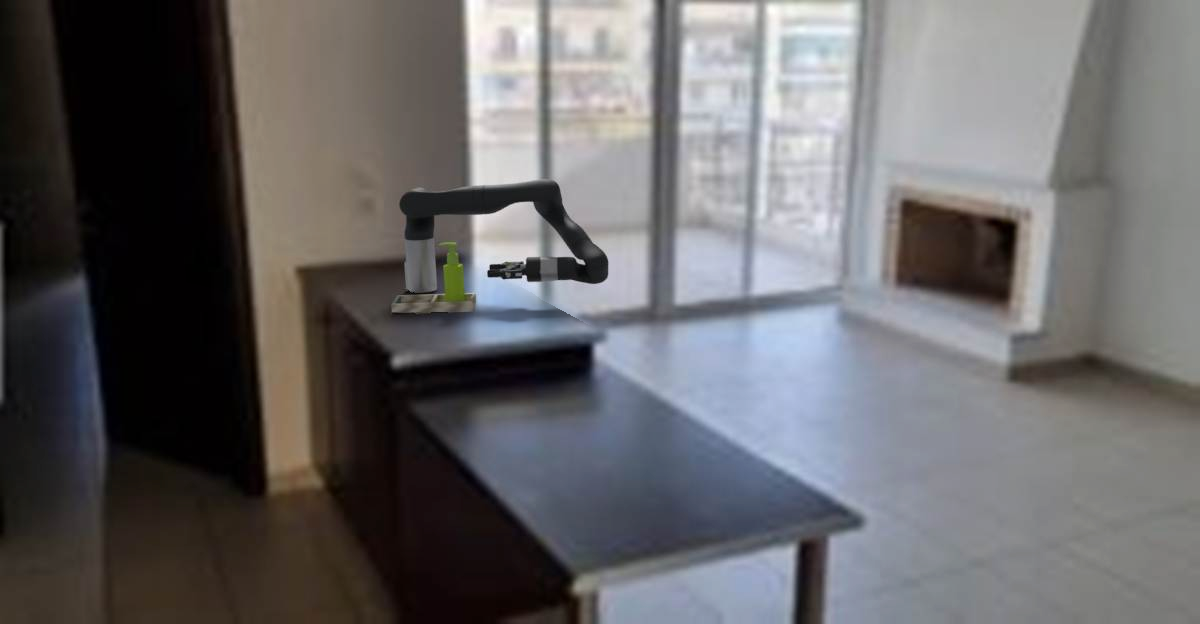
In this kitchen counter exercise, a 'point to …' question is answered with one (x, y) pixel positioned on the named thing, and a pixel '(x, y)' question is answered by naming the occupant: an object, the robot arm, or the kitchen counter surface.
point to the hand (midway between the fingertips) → (488, 270)
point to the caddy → (432, 303)
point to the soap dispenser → (453, 276)
